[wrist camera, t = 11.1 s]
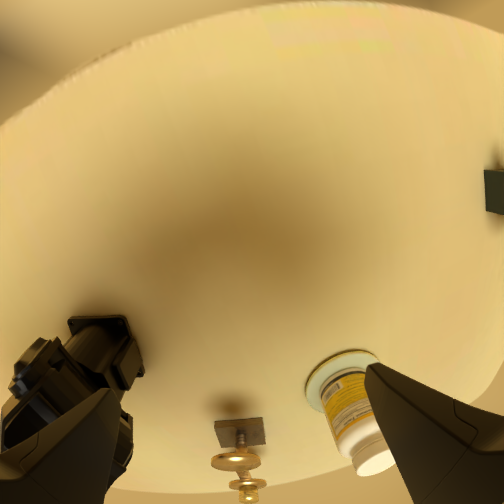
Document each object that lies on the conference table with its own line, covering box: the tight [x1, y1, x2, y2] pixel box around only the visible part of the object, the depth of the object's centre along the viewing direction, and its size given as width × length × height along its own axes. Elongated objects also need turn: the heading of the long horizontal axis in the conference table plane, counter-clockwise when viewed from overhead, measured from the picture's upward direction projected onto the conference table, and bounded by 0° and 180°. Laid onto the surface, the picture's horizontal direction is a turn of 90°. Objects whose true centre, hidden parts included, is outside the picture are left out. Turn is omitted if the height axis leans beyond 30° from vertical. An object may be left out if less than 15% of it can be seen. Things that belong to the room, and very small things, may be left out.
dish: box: [306, 351, 380, 413], centre depth 24 cm, size 8×8×1 cm
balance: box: [211, 418, 266, 504], centre depth 22 cm, size 5×13×8 cm, turn 6°
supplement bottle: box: [319, 368, 396, 476], centre depth 19 cm, size 5×5×10 cm
